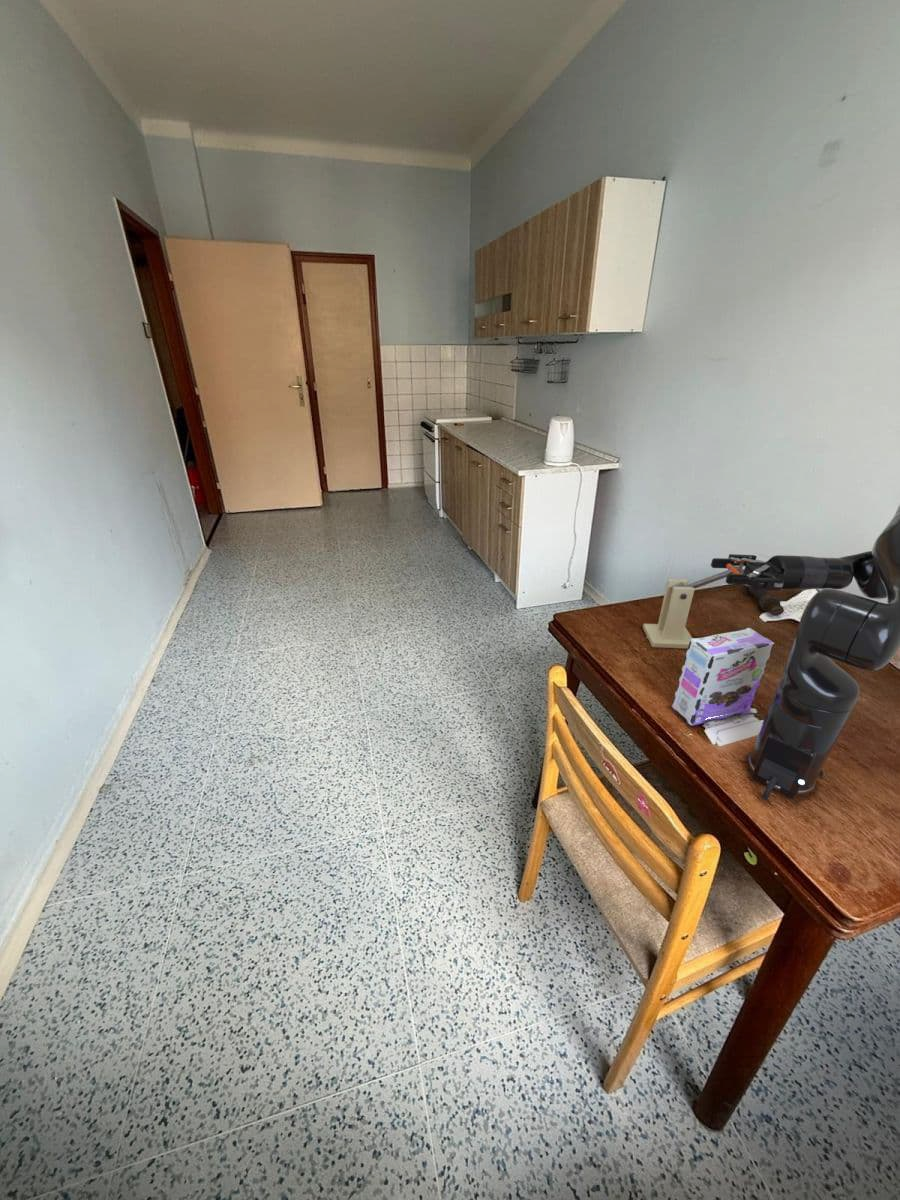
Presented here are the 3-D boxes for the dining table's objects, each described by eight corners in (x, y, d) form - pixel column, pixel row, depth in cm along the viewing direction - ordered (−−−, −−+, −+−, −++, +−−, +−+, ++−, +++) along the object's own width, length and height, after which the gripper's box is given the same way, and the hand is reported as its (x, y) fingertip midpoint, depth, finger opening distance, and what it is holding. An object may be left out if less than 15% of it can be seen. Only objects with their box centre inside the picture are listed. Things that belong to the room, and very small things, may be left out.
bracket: (683, 629, 119) (696, 576, 112) (695, 649, 111) (711, 593, 104) (642, 627, 120) (653, 575, 113) (652, 647, 112) (664, 592, 105)
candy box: (690, 727, 89) (712, 655, 81) (670, 707, 94) (688, 637, 86) (750, 713, 92) (777, 642, 84) (727, 694, 97) (750, 625, 89)
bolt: (770, 623, 124) (745, 595, 137) (791, 616, 122) (763, 588, 135) (764, 607, 122) (739, 580, 134) (785, 599, 120) (758, 572, 133)
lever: (732, 569, 109) (730, 560, 108) (744, 580, 104) (741, 571, 103) (670, 591, 113) (667, 583, 112) (678, 603, 108) (676, 594, 107)
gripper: (784, 545, 109) (711, 543, 111) (820, 570, 97) (737, 568, 98) (774, 574, 113) (703, 572, 114) (808, 602, 100) (728, 600, 102)
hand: (719, 570), depth 106 cm, fingers open, 8 cm apart
